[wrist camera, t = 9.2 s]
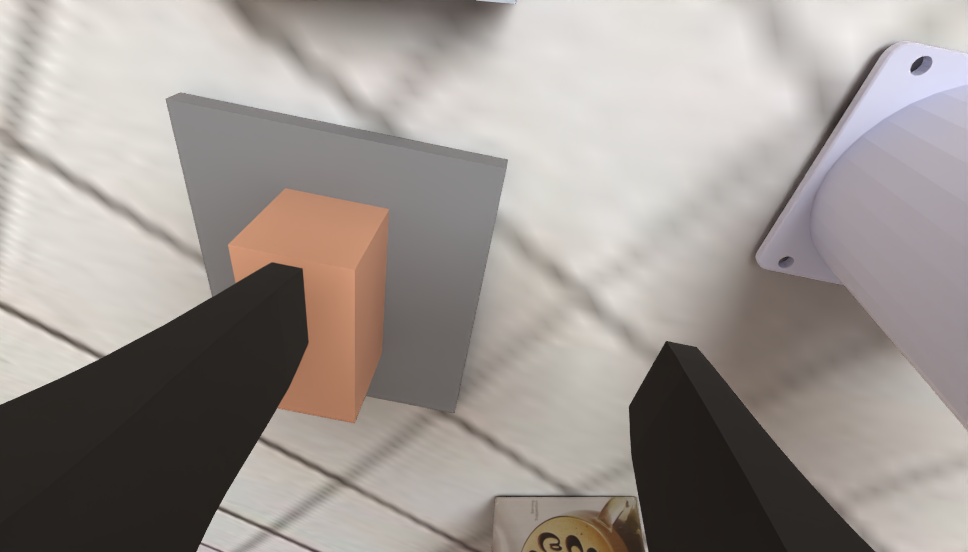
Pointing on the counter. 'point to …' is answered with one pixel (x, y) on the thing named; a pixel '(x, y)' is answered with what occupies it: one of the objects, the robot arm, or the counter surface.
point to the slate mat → (367, 180)
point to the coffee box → (567, 524)
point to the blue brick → (501, 1)
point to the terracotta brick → (326, 292)
